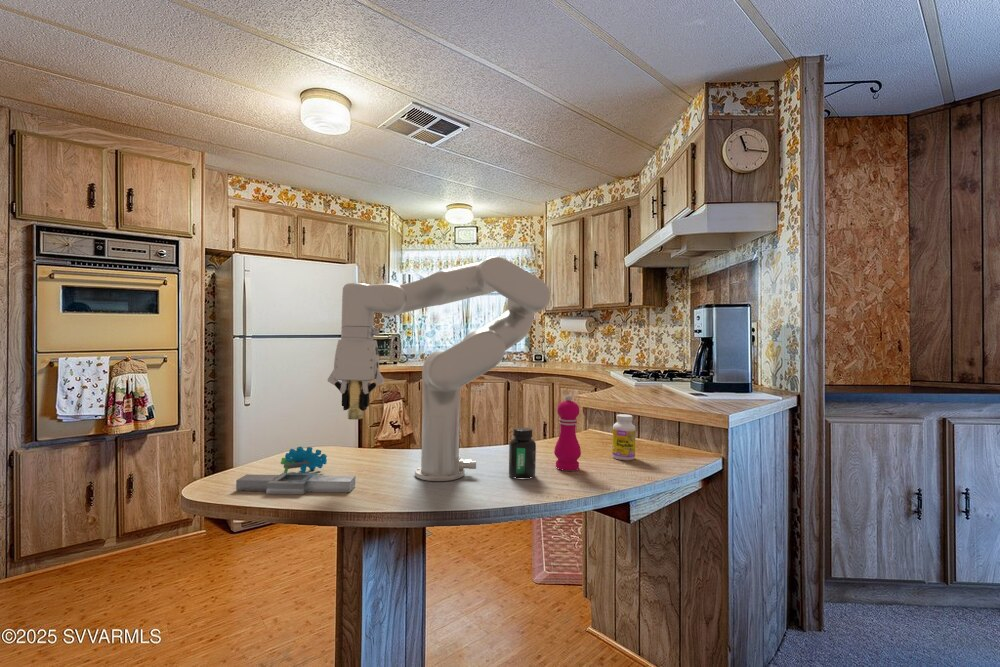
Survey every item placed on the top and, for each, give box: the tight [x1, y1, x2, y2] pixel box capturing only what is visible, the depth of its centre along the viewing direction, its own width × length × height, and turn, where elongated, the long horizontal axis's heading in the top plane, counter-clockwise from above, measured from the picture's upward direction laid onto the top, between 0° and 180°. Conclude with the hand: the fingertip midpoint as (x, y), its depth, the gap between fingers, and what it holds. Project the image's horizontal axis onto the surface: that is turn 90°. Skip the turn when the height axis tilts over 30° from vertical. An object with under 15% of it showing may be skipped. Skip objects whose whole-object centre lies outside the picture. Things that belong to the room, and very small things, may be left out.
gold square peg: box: [347, 380, 364, 420], centre depth 114 cm, size 4×4×10 cm
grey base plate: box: [235, 472, 357, 495], centre depth 106 cm, size 25×8×2 cm, turn 91°
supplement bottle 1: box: [508, 427, 537, 478], centre depth 120 cm, size 7×7×12 cm
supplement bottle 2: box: [611, 413, 637, 461], centre depth 141 cm, size 7×7×13 cm
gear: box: [280, 446, 328, 473], centre depth 117 cm, size 11×6×10 cm
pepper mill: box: [553, 394, 582, 471], centre depth 129 cm, size 7×7×20 cm
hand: (355, 408), depth 114 cm, fingers closed on gold square peg, 3 cm apart
